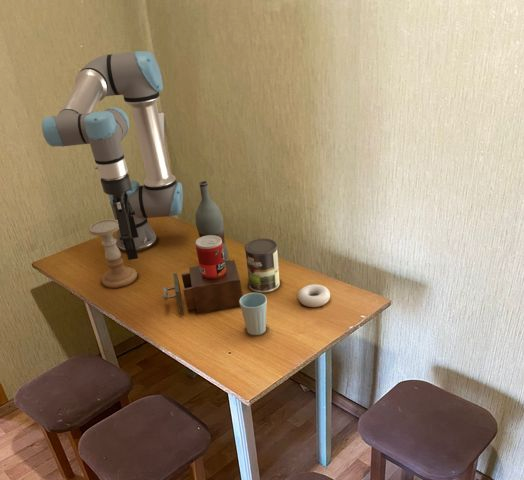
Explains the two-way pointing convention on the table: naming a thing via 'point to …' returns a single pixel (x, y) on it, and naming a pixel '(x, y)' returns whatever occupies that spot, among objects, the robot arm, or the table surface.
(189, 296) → the drawer
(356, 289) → the table surface
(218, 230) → the bottle
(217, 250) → the canned food
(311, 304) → the donut
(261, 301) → the cup
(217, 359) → the table surface
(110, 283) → the candle holder
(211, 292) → the cabinet
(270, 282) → the coffee can
